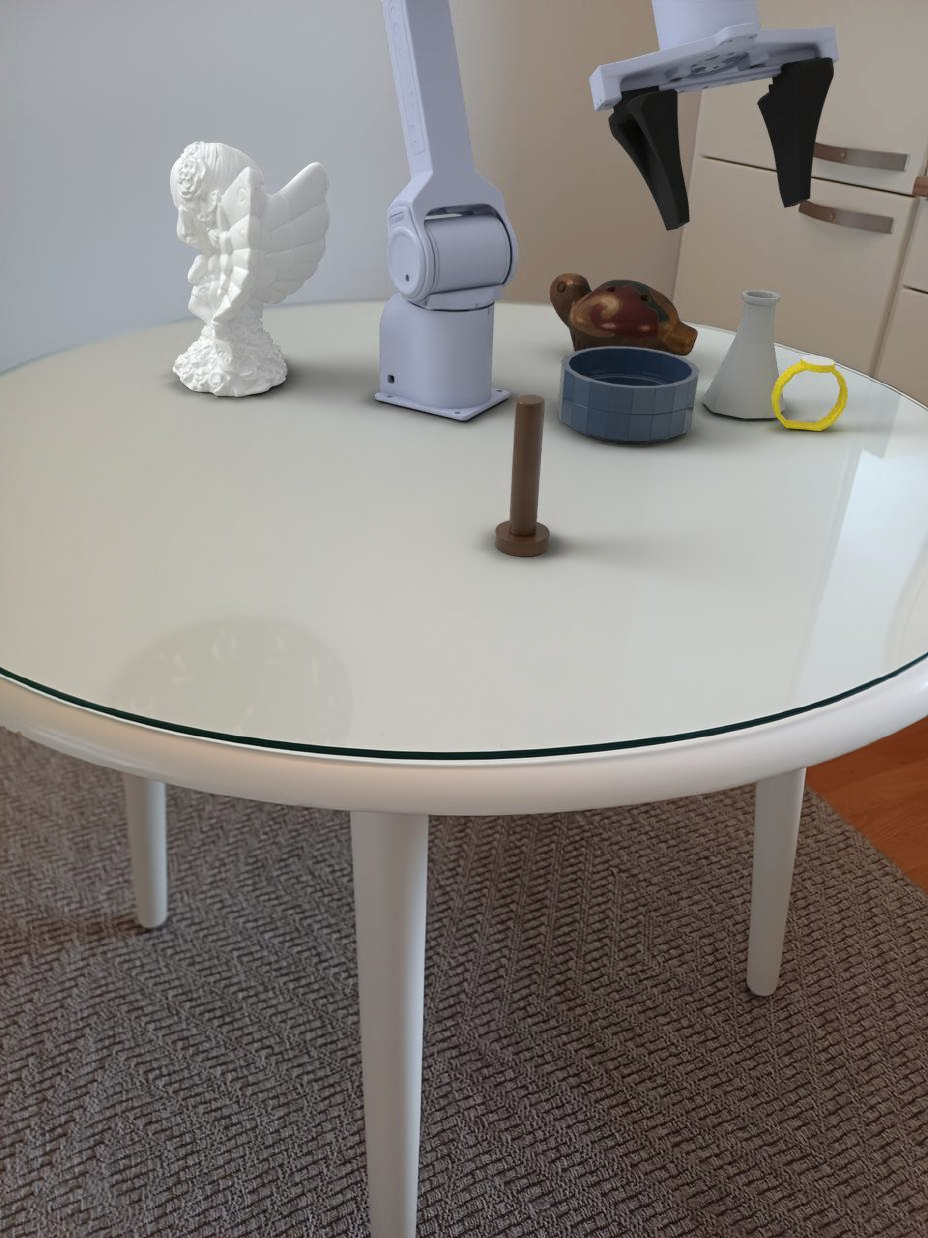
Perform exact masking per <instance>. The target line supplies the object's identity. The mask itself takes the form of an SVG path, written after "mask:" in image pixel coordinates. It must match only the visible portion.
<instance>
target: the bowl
mask: <svg viewBox="0 0 928 1238" xmlns="http://www.w3.org/2000/svg"><path fill="white" fill-rule="evenodd" d="M560 366H561V367H560V379H559V393H558V406H557V407H558V408H557V414H558V416H559V419H560V421H561V422H562V423H564V424H565V425H567V426H568V427H569V428H571V429H573V430H575V431H578V432H579V433H581V434H583V435H586V436H588V437H591V438H594V439H598V440H602V441H607V442H612V443H620V444H647V443H655V442H660V441H664V440H667V439H670V438H671V439H672V438H673V437H676V436H680V435H682V434H684V433H685V432H687V431H688V430H689V429H690V428H691V427H692V424H693V419H694V417H693V416H694V411H695V402H696V396H697V388H698V382H699V374H700V369H699V368H698V367H697V365H696V364H695V363H694V362H693V361H690V360H688V359H687V358H685V357H684V356H679V355H674V354H671V353H668V352H663V351H658V350H653V349H647V348H638V347H626V346H608V347H607V346H606V347H596V348H588V349H584V350H580V351H576V352H575V351H573V352H571V353H569V354H567V355H565V356H564V358H563V360H562V361H561V365H560Z"/></svg>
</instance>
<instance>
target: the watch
mask: <svg viewBox="0 0 928 1238" xmlns="http://www.w3.org/2000/svg"><path fill="white" fill-rule="evenodd" d="M835 367H836V361H835V360H833V359H832V358H830V357H826V356H822V355H814V354H808V355H807V354H806V355H803V356H801V358H800V361H799V362H797V363H795V364H792V365H790V366H789V367H787V368H786V369H785V370H784V371H783V372H782V374H781V375H779V378H778V379H777V381H776V383H775V386H774V389H773V392H772V397H771V400H772V406H773V411H774V413H775V415H776V416H777V417H776V419H778V421H779V422H781V425H783V427H784V428H787V429H794V430H795V429H796V430H806V431H816V432H821V431H823V430H825V429H827V428H828V427H830V426H832V425H833V424H834V423H836V422H837V421H838V419H839V418H840V416H841V415H842V414H843V413H844V411H845V409H846V406H847V402H848V397H849V389H848V386H847V383H846V380H845V377H844V376H843V374H842V373H841V372H840V371H839V370H837V368H835ZM805 371H808V372H811V373H818V374H830V373H831V374H832V375H833V376H834V377H835V378H836V381H837V384H838V387H839V391H838V396H837V401H836V403H835V404H834V406H833V407H832V408H831V410H830V411H829V413H828V414H827V415H825V416H824V417H822V418H820V419H818V420H817V421H814V422H812V421H811V422H809V421H804V420H803V421H802V420H794V419H786V418H785V417H784V415H783V414H782V412H780V406H779V399H780V396H781V393H782V392H783V390H784V387H785V386H786V385H787V384H788V383H789V382H790V381H791V380H792V379H793V378H794V377H795V376H796V375H798V374H800V373H803V372H805Z"/></svg>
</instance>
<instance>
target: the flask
mask: <svg viewBox="0 0 928 1238" xmlns="http://www.w3.org/2000/svg"><path fill="white" fill-rule="evenodd" d="M781 298H782V295H781V294H779V293H778V292H777V291H772V290H766V289H745V290H744V291H743V292H742V293H741V300H742V301H743V307H742V313H741V318H740V322H739V323H738V327H737V330H736V333H735V336H734V338H733V341H732V342H731V344H730V347H729V348H728V350H727V352H726V355H725V356H724V359H723V360H722V362H721V365H720V366H719V368H718V370H717V372H716V374H715V375H714V378H713V379H712V381H711V383H710V385H709V387H708V388H707V390H706V392H705V394H704V396H703V398H702V400H701V401H702V402H703V404H704V405H705V406H706V407H707V408H708V409H709V411H711V413H714V414H715V413H716V414H721V415H726V416H731V417H735V418H740V419H777V416H776V415H775V413H774V411H773V406H772V400H771V397H772V392H773V389H774V386H775V383H776V381H777V379H778V378H779V377H780V373H779V372H780V371H779V367H778V366H779V365H778V359H777V353H776V347H775V341H774V339H775V338H774V337H775V336H774V333H775V332H774V328H775V327H774V318H775V312H776V306H777V304H778V303H780V301H781ZM779 406H780V412H781V413H783V411H785V409H786V404H785V398H784V393H783V391H782V393H781V396H780V399H779Z"/></svg>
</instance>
